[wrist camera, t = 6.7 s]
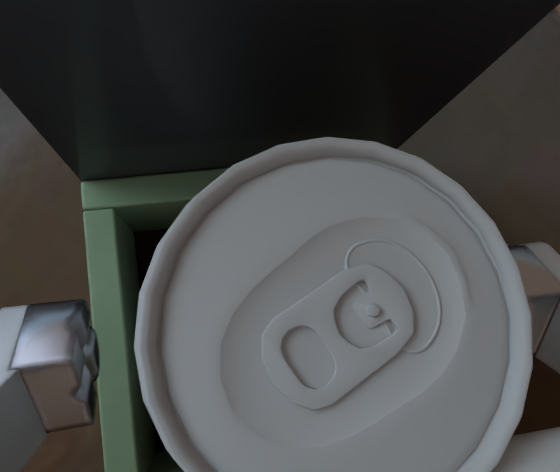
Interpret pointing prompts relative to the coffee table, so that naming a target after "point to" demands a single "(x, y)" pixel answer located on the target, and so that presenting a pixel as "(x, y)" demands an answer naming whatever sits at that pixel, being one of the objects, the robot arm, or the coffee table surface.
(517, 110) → the coffee table surface
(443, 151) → the coffee table surface
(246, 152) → the stand
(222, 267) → the beverage can
